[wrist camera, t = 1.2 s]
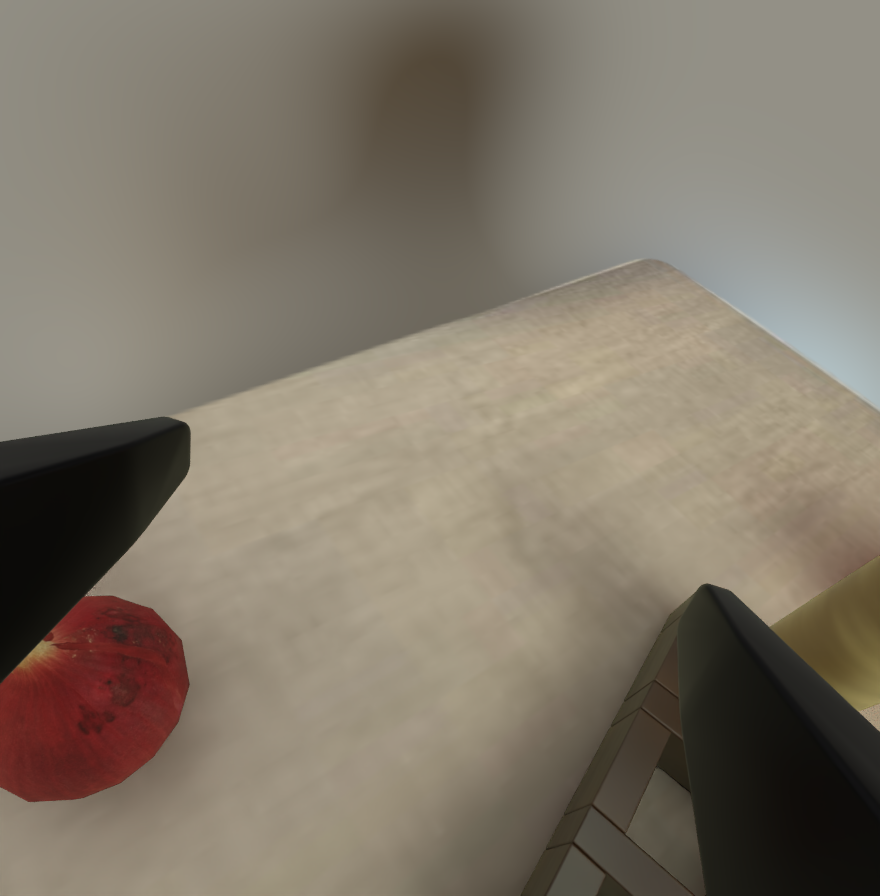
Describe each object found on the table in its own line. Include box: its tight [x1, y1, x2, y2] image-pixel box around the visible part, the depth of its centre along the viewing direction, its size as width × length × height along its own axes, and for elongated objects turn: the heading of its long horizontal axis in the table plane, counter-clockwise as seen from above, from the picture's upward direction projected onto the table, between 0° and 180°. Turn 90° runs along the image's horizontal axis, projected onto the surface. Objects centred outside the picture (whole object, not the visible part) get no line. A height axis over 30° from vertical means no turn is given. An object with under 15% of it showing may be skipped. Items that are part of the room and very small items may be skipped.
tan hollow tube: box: [769, 555, 880, 711], centre depth 19 cm, size 3×3×12 cm
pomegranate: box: [0, 596, 189, 802], centre depth 17 cm, size 6×6×8 cm
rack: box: [521, 592, 706, 896], centre depth 19 cm, size 17×6×3 cm, turn 141°
